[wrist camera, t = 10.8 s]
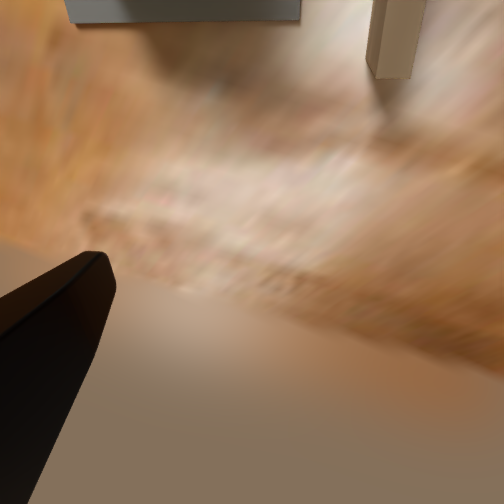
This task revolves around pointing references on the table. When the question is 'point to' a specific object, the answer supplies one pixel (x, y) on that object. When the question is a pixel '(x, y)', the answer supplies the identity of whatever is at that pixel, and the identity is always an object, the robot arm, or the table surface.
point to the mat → (180, 10)
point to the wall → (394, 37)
